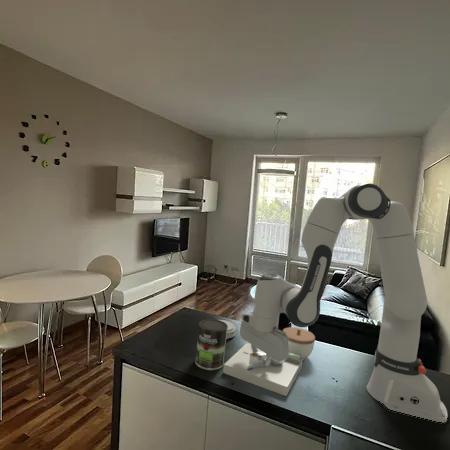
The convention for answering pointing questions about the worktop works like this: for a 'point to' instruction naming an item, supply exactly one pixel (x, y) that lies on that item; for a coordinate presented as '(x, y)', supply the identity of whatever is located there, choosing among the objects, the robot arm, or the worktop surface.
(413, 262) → the robot arm
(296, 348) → the lidded bowl
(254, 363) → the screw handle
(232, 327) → the lid
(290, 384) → the base
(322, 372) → the worktop surface
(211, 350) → the coffee can
